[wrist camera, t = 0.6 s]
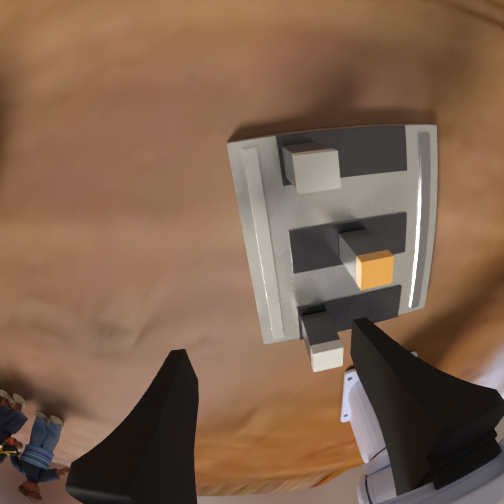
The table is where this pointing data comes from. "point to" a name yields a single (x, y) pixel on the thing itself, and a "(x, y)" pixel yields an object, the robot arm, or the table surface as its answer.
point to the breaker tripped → (366, 258)
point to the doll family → (29, 445)
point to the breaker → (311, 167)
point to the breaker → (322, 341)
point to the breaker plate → (337, 223)
